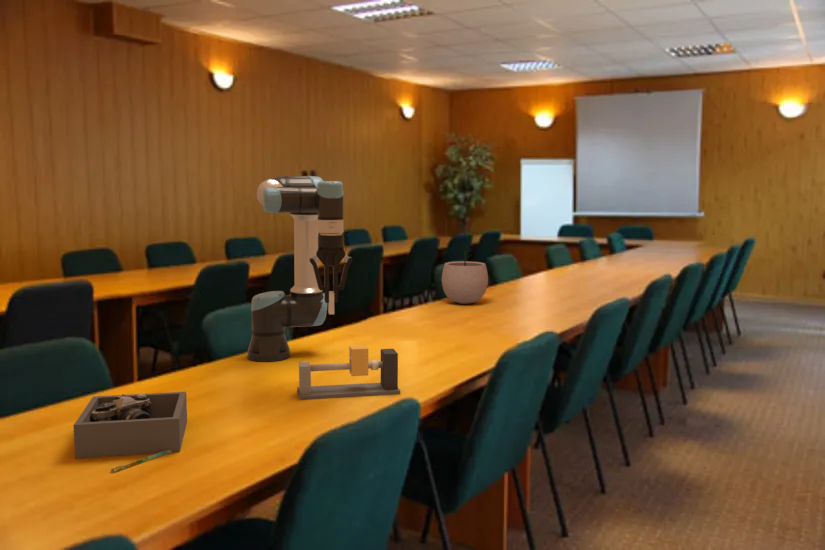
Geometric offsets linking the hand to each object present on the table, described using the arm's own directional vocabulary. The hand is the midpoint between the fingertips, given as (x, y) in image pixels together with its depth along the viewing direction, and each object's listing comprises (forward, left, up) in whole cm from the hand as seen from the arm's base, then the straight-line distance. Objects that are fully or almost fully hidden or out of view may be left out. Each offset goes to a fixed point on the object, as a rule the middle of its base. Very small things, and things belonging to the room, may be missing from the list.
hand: (331, 313), depth 223 cm
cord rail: (+5, 0, -24) cm, 25 cm away
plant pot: (+86, +150, -25) cm, 175 cm away
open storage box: (-52, -30, -24) cm, 65 cm away
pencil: (-47, -46, -25) cm, 70 cm away
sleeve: (+8, 0, -19) cm, 20 cm away
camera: (-54, -28, -25) cm, 65 cm away
